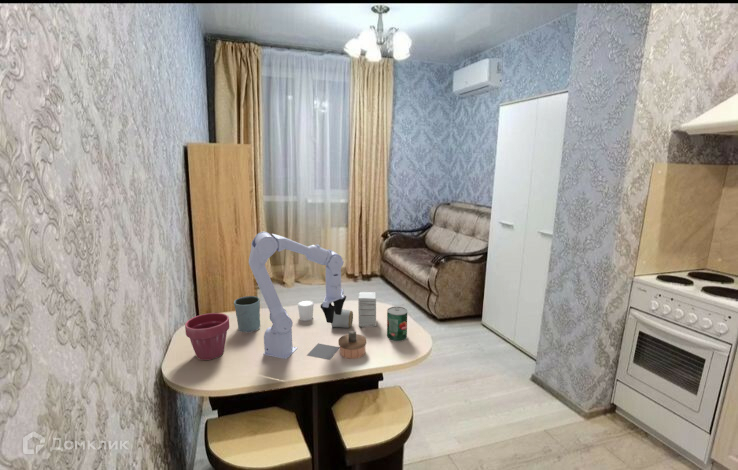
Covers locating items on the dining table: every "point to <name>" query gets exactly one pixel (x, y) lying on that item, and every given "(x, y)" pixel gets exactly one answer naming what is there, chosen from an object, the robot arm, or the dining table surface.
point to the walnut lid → (352, 341)
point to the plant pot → (208, 334)
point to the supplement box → (367, 309)
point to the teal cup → (248, 313)
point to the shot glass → (305, 310)
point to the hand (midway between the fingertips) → (334, 318)
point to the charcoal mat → (323, 351)
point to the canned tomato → (397, 324)
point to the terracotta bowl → (352, 352)
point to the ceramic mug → (343, 319)
